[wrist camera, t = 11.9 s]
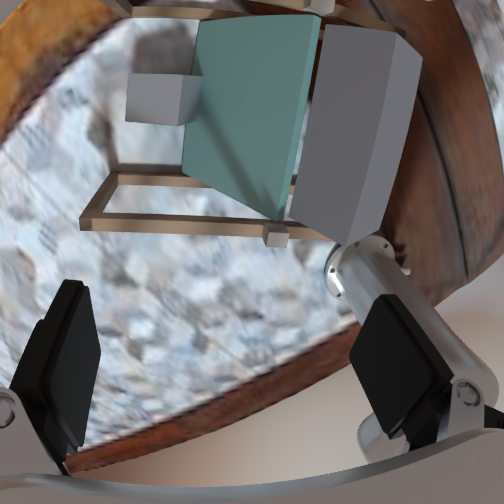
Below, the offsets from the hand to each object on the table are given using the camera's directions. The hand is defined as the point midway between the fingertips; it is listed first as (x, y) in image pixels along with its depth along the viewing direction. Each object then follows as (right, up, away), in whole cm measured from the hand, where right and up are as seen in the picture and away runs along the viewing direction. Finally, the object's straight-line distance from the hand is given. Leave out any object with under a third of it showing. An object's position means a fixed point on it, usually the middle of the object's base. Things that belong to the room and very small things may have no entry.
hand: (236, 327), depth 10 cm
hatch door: (+6, +17, +21) cm, 28 cm away
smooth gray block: (-5, +17, +19) cm, 26 cm away
